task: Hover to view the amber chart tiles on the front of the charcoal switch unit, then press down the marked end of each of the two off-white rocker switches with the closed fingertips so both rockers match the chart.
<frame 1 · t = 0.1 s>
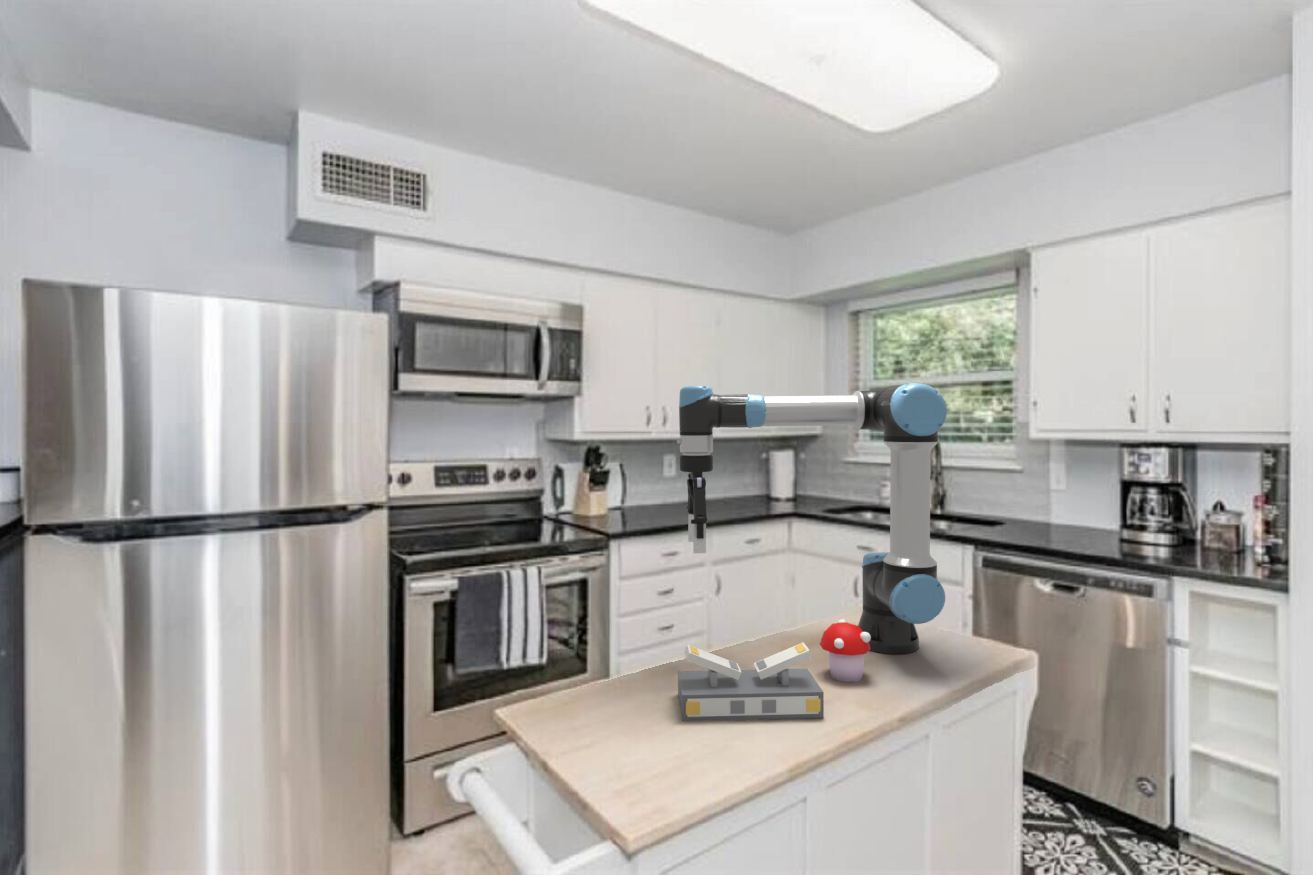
hand: (696, 547, 152), 28 cm above the counter, fingers open, 13 cm apart
switch unit: (747, 705, 133), on the counter
rocker 2: (782, 660, 133), point 9 cm above the counter, hinge at 22.0°
mushroom: (845, 677, 147), on the counter
rocker 1: (712, 661, 132), point 9 cm above the counter, hinge at -22.0°
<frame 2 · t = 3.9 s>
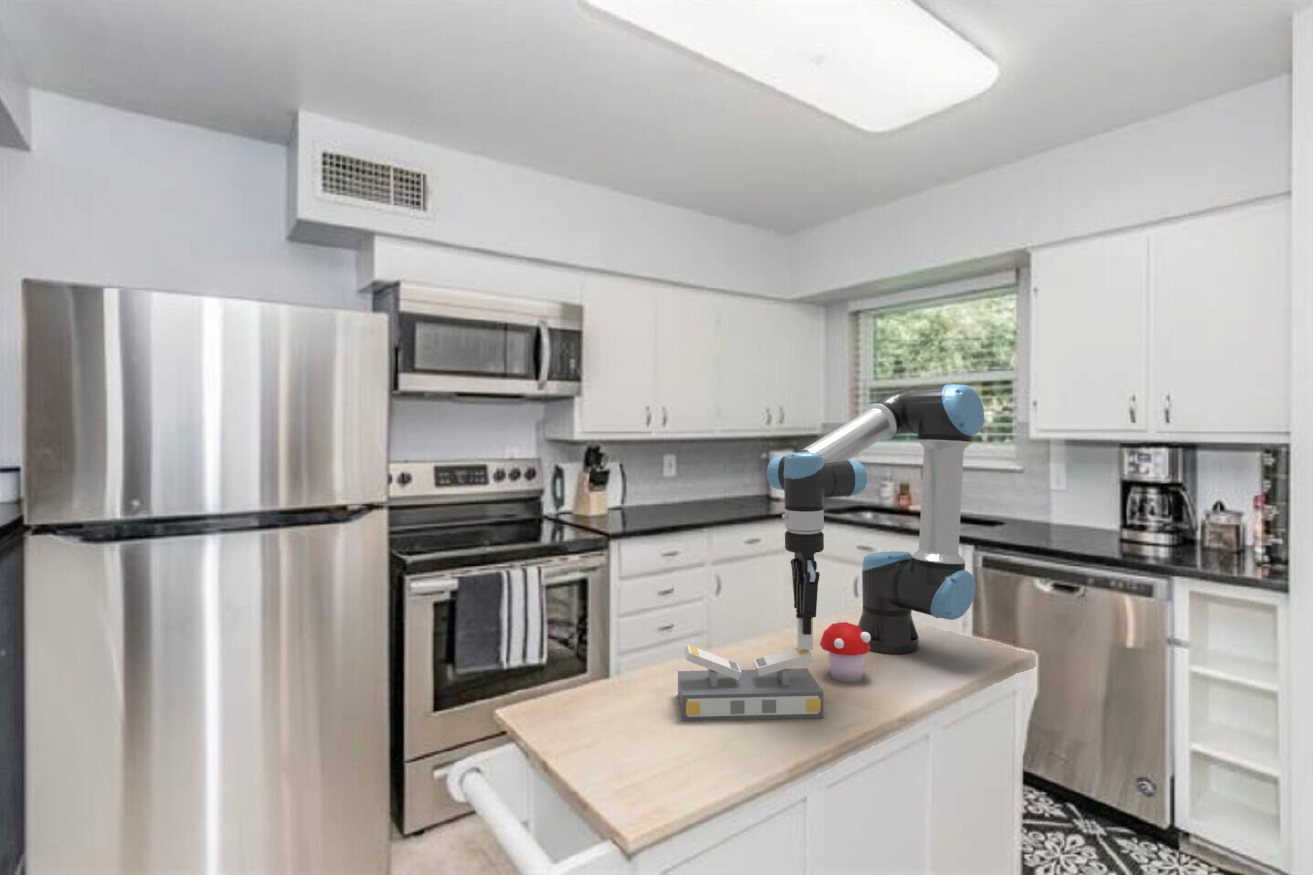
hand: (805, 648, 133), 11 cm above the counter, fingers closed
rocker 2: (782, 660, 133), point 9 cm above the counter, hinge at 14.1°, touching gripper
everything else where it was.
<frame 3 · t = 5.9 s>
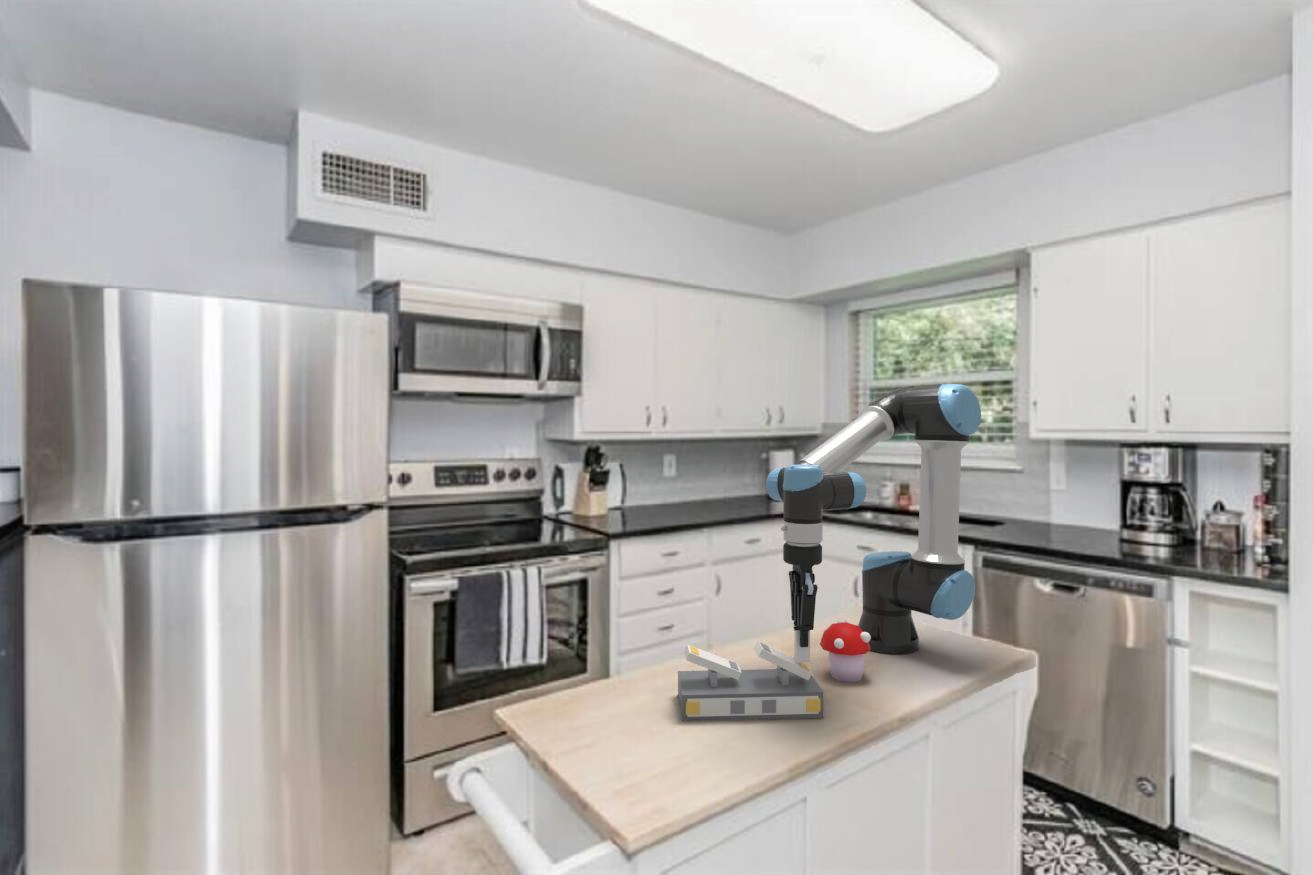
hand: (802, 660, 133), 9 cm above the counter, fingers closed
rocker 2: (782, 660, 133), point 9 cm above the counter, hinge at -26.8°, touching gripper
everything else where it was.
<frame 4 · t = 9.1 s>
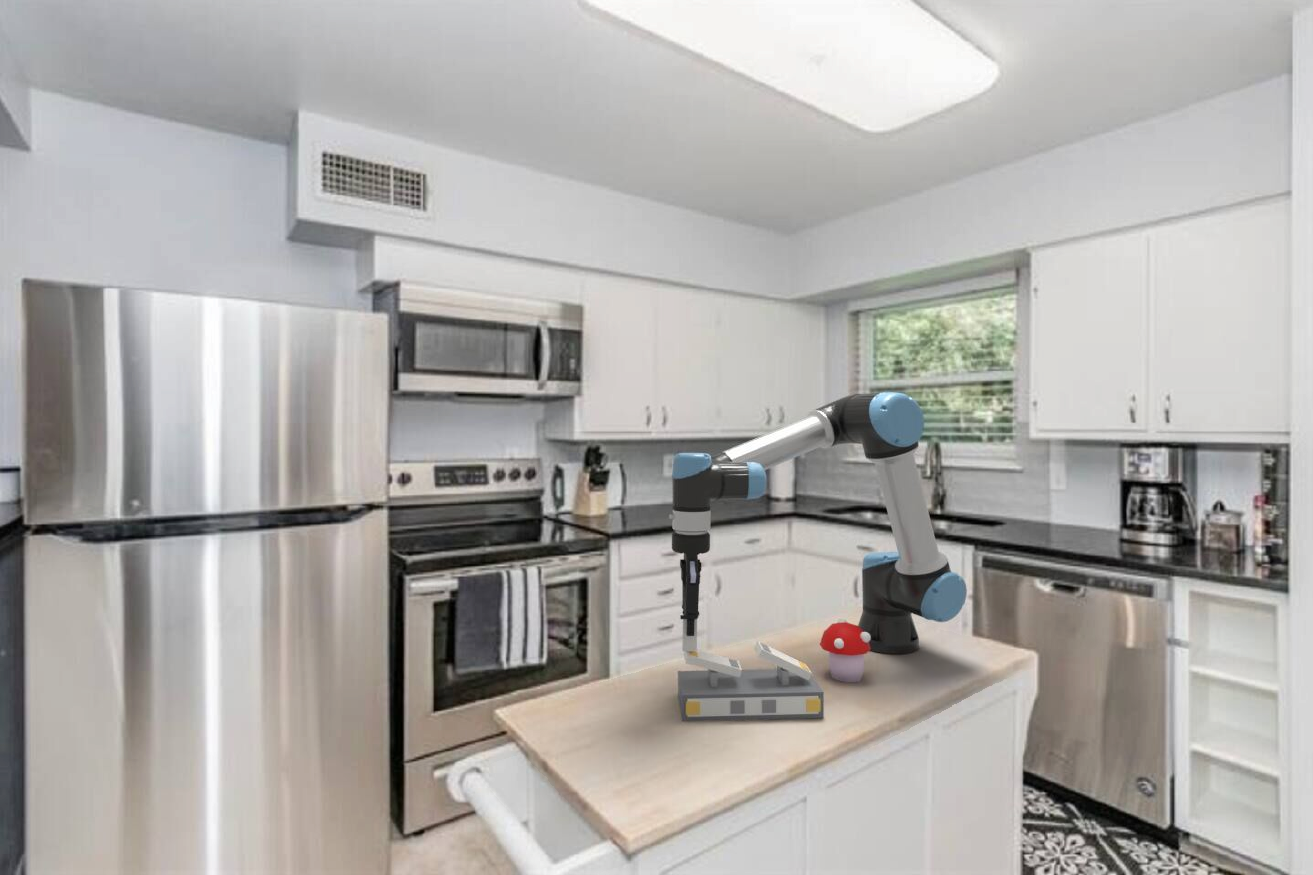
hand: (689, 649, 132), 11 cm above the counter, fingers closed
rocker 2: (782, 660, 133), point 9 cm above the counter, hinge at -26.6°
rocker 1: (712, 661, 132), point 9 cm above the counter, hinge at -16.1°, touching gripper
everything else where it was.
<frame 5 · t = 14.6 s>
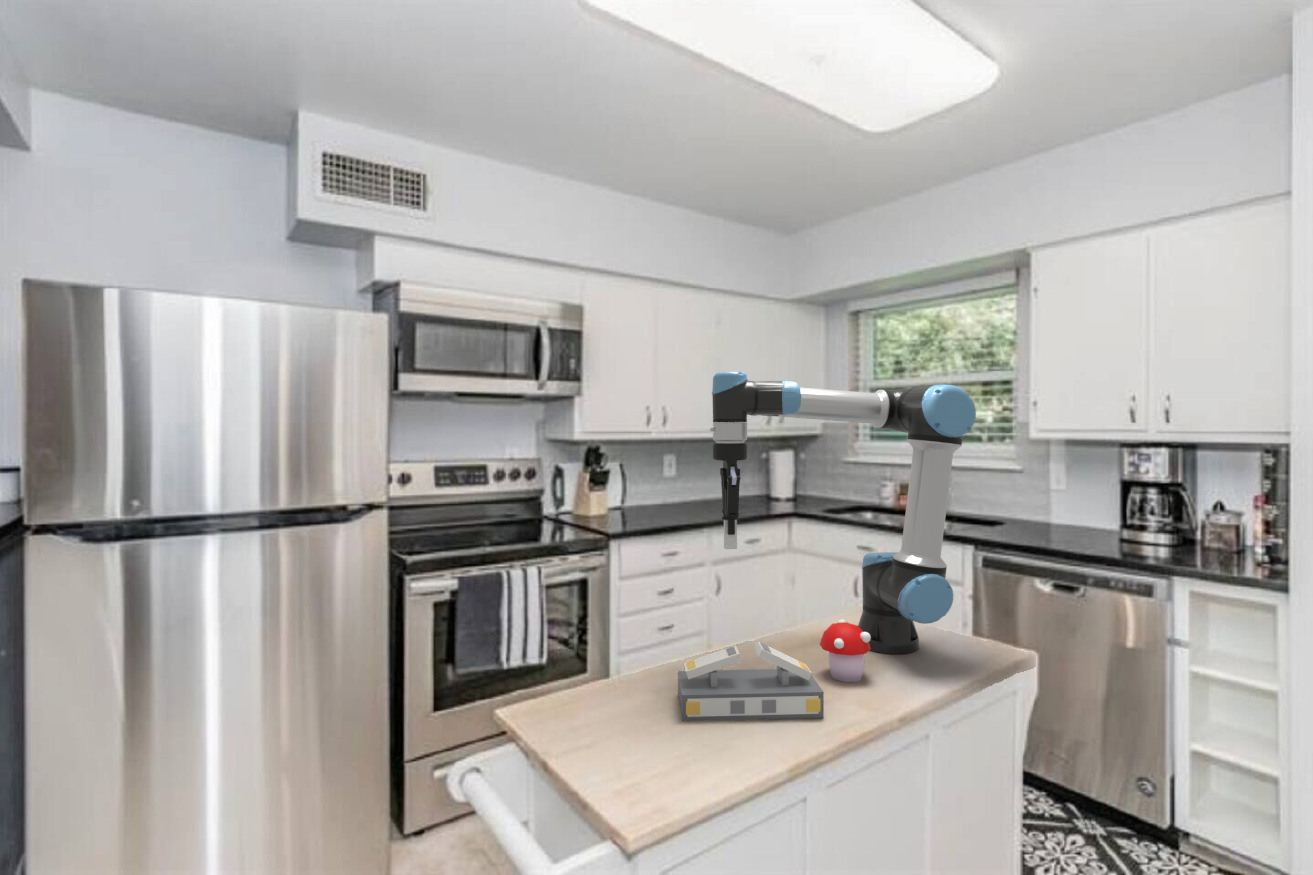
hand: (730, 548, 148), 28 cm above the counter, fingers closed
rocker 1: (712, 661, 132), point 9 cm above the counter, hinge at 17.7°
everything else where it was.
at the end: rocker 2 at -27° (first picture: +22°); rocker 1 at +18° (first picture: -22°) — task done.
